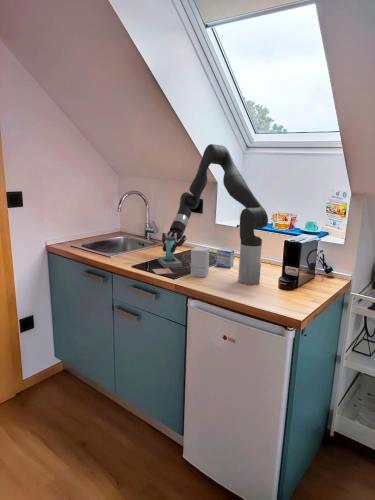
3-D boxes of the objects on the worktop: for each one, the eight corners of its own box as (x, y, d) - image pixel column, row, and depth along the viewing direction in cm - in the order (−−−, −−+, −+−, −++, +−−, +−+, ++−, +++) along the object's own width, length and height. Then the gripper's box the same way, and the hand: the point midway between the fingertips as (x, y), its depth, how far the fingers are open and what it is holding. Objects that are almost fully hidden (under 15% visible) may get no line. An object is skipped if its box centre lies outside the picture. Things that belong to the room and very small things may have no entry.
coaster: (172, 274, 178) (172, 272, 178) (156, 275, 176) (156, 273, 175) (168, 269, 185) (168, 268, 185) (152, 270, 183) (152, 269, 183)
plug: (175, 264, 192) (175, 237, 189) (166, 265, 191) (166, 238, 188) (172, 262, 196) (173, 236, 193) (164, 263, 195) (164, 236, 192)
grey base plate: (182, 267, 189) (182, 263, 188) (164, 269, 186) (164, 264, 185) (173, 260, 202) (174, 256, 201) (157, 261, 199) (157, 257, 198)
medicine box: (215, 266, 194) (216, 249, 192) (219, 264, 198) (220, 248, 196) (230, 268, 190) (231, 251, 188) (233, 266, 194) (234, 250, 192)
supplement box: (208, 273, 181) (210, 247, 178) (205, 277, 174) (206, 251, 171) (193, 271, 183) (194, 246, 180) (189, 276, 176) (190, 249, 173)
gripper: (165, 218, 198) (153, 245, 190) (189, 221, 192) (178, 249, 184) (169, 227, 204) (158, 253, 196) (193, 230, 198) (182, 257, 190)
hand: (167, 251), depth 190 cm, fingers closed on plug, 4 cm apart
